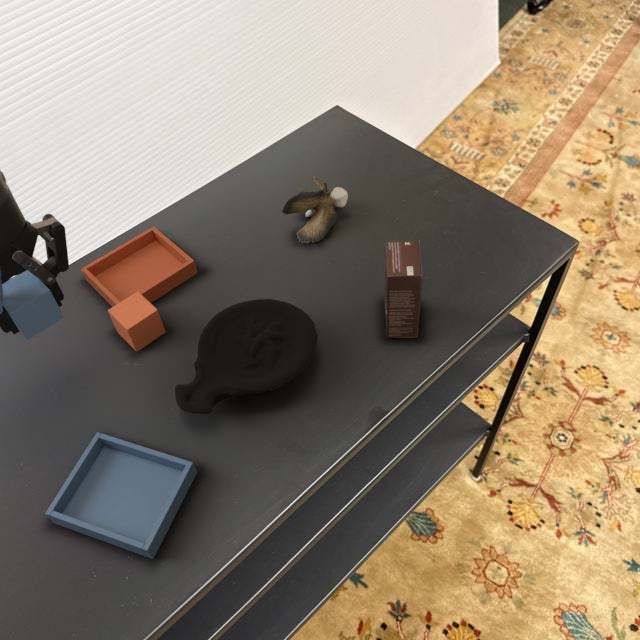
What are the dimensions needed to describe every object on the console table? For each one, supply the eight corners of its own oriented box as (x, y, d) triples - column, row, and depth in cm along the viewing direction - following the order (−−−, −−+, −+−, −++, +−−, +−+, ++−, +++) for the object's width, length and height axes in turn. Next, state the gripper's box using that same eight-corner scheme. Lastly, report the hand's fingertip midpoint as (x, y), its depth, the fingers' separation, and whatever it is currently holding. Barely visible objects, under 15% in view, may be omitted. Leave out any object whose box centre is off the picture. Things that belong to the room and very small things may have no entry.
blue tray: (53, 523, 69) (44, 513, 67) (103, 442, 75) (96, 431, 73) (153, 559, 66) (147, 550, 64) (197, 472, 72) (193, 462, 70)
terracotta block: (136, 352, 83) (127, 330, 80) (117, 332, 86) (107, 310, 82) (165, 332, 85) (157, 309, 82) (146, 313, 88) (137, 290, 84)
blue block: (26, 340, 70) (9, 313, 66) (7, 317, 72) (-11, 290, 68) (64, 317, 72) (49, 289, 68) (44, 295, 74) (29, 267, 70)
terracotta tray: (124, 319, 87) (119, 307, 85) (86, 280, 92) (80, 268, 90) (197, 273, 92) (194, 260, 90) (157, 238, 97) (153, 226, 95)
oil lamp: (147, 388, 80) (137, 364, 76) (263, 299, 88) (259, 274, 84) (225, 462, 73) (218, 440, 69) (343, 358, 81) (342, 334, 78)
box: (382, 304, 87) (385, 239, 78) (415, 304, 87) (422, 238, 77) (383, 339, 83) (386, 275, 74) (418, 340, 83) (426, 275, 73)
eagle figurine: (301, 191, 101) (270, 217, 95) (325, 162, 96) (294, 188, 89) (335, 225, 101) (307, 253, 95) (361, 199, 96) (333, 227, 90)
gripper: (17, 144, 63) (74, 265, 76) (-131, 214, 57) (-42, 333, 70) (55, 178, 60) (108, 299, 73) (-99, 256, 54) (-11, 373, 67)
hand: (34, 315), depth 72 cm, fingers closed on blue block, 4 cm apart
